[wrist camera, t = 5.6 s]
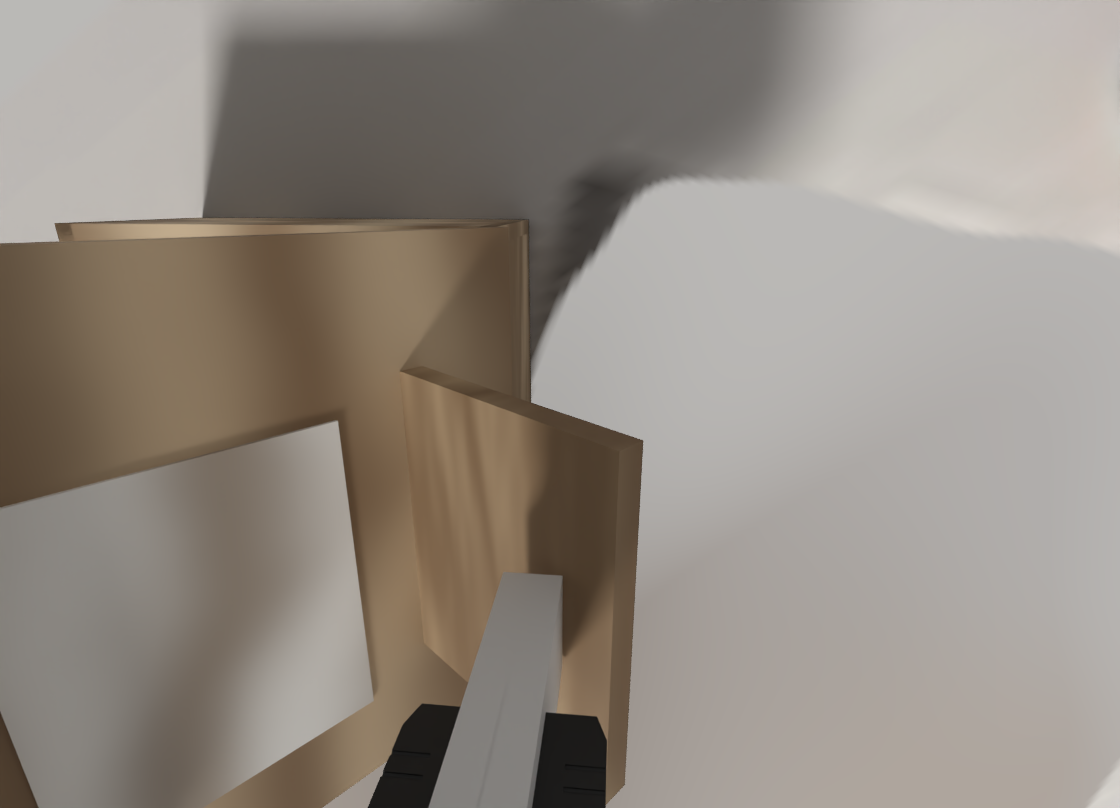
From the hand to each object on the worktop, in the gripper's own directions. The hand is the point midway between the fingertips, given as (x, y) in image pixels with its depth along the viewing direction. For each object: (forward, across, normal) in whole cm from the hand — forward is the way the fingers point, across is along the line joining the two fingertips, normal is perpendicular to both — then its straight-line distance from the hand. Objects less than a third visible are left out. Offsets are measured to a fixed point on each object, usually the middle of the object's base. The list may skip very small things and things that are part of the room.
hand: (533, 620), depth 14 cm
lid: (+2, -7, 0) cm, 8 cm away
